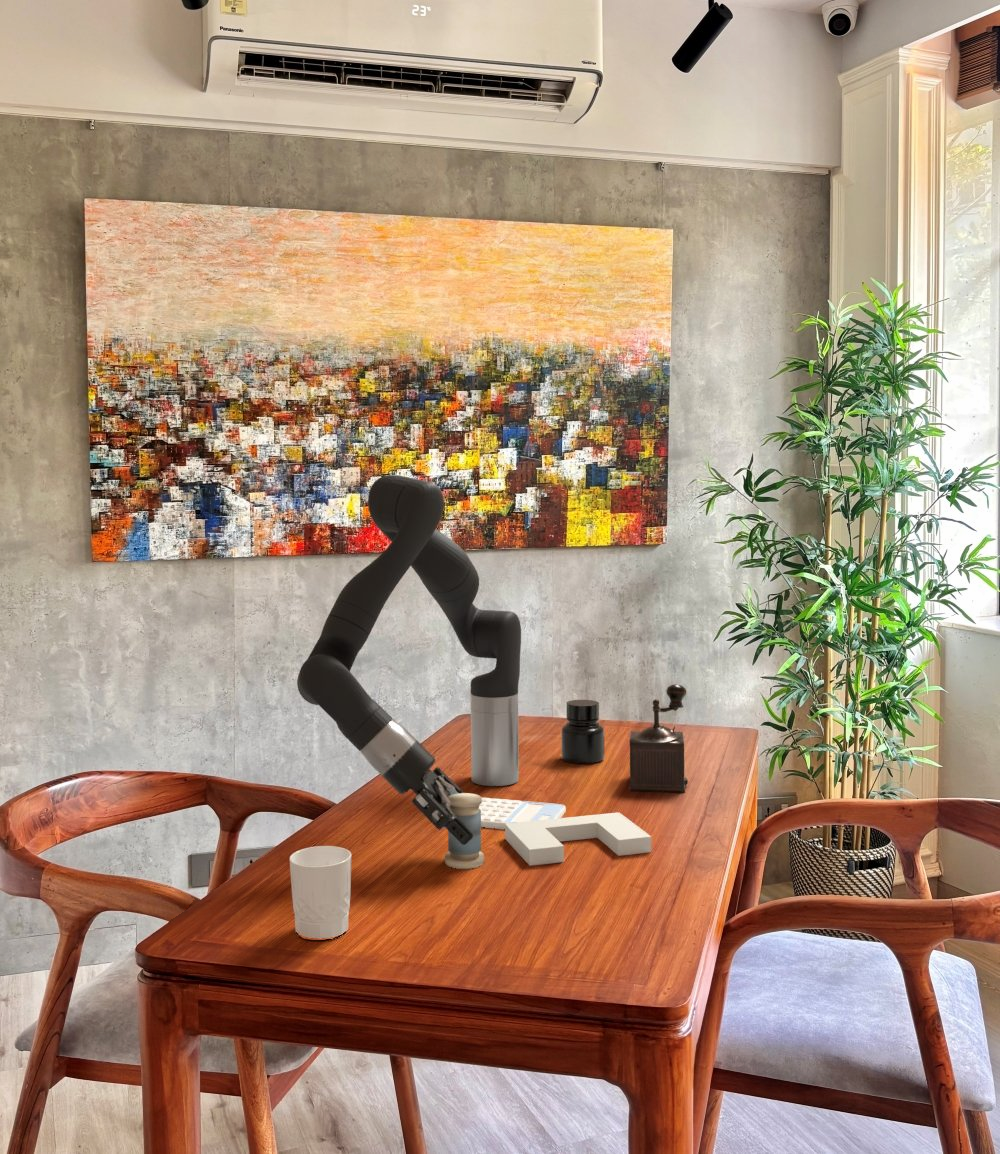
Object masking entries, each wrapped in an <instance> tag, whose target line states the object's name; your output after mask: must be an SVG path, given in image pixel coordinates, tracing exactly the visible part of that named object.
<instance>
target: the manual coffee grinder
mask: <svg viewBox="0 0 1000 1154" xmlns="http://www.w3.org/2000/svg"><path fill="white" fill-rule="evenodd" d="M665 691H666V692H665V693H666V695H667V696H668V698H669V700H670V702H669V705H668V707H660V700H659V699H653V701H652V705H653V706H652V712H653V725H652V726H648V727H647V728H645V729H643V730H641V731H640V730H639V731H638V730H637V731H636V730H634V731H632V730H631V731H630V733H629V734H630V735H629V791H630V792H638V793H639V792H640V793H641V792H642V793H671V794H673V793H675V794H676V793H677V794H680V793H681V794H682V793H683V794H685V793H686V787H687V786H688V783H689V782H688V780H689V779H688V778H686V777H685V775H686V774H685V773H686V772H685V771H686V770H685V765H686V764H685V736H684V734H683V731H675V729H676V726H673V728H669V727H667V726H665V725H660V717H659V716H660V713H667V712H670V711H674V712H677V710H679V709H682V708H684V705H683V702H682V701H683V700H684V698H685V697H686V695H687V689H686V688H685V687H684V686H683V685H681V684H671V685H669V686H668V687H667V688H666V690H665Z"/></svg>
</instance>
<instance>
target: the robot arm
mask: <svg viewBox="0 0 1000 1154" xmlns="http://www.w3.org/2000/svg"><path fill="white" fill-rule="evenodd" d="M367 497H368V498H367V506H368V511H369V515H370V517H371V519H372V522H373V523H374V524H375V526H376V527H377V528H378V529H379V530H380V532H382V533H383V535H384V536H386V538H388V540H390V542H391V543H389V545H388V546H387V548H386V549H384V551H383V552H381V554H380V555H379V556H377V557H376V558H375V559H374V560H373V561H371V563H369V564H368V565H367V566H366V567H364V568H363V569H362V570H360V571H359V572H357V574H355V575H354V576H353V577H352V578H351V579H350V580H349V581H348V583H345V586H344V587H343V588H342V589H341V591H340V592H339V594H338V596H337V598H336V600H335V602H334V604H333V605H332V608H331V610H330V612H329V613H328V616H327V618H326V620H325V623H324V625H323V627H322V629H321V634H320V636H319V638H318V640H317V641H316V643H315V645H314V647H313V648H312V650H311V652H310V654H309V655H308V657H307V659H306V660H305V661H304V662H303V664H302V665H301V667H300V669H299V673H298V676H297V680H296V681H297V683H296V684H297V685H296V686H297V690H298V693H299V695H300V696H301V697H302V699H303V700H305V701H306V702H307V703H309V704H311V705H314V706H319V707H320V708H321V709H322V710H323V711H324V712H325V713H326V714H327V715H328V716H329V717H330V718H331V719H332V720H333V722H335V724H336V725H337V729H338V730H339V731H340V732H341V734H342V735H343V736H344V737H345V738H346V740H347V741H349V742H350V743H351V744H352V745H353V746H354V747H355V749H357V751H359V752H360V753H361V754H362V756H364V758H365V759H366V761H367V762H368V763H369V764H370V766H371V767H372V768H373V769H374V770H375V771H376V772H378V773H379V775H380V776H381V777H382V778H384V780H386V782H387V783H388V784H389V785H391V787H392V788H393V789H394V790H395V791H397V793H398V794H400V795H405V794H406V793H408V791H409V790H412V791H413V794H415V795H416V796H415V797H414V798H412V799H411V803H412V804H413V805H414V806H415V807H416V808H417V809H418V810H419V811H420V812H421V814H422V815H424V817H426V819H428V820H429V822H430V823H431V824H433V826H434V827H435V828H436V829H437V830H441V829H444V830H447V832H448V831H449V832H450V833H451V834H452V835H453V836H454V837H455V838H456V839H457V840H458V841H459V842H460V843H461V844H463V845H465V844H467V843H468V842H469V841H470V840H471V839H472V838H473V832H472V831H471V830H470V829H469V828H468V827H467V826H466V825H465V824H464V823H463V822H462V821H461V820H460V819H459V818H458V817H456V815H455V814H454V812H453V811H452V809H451V802H450V800H449V799H448V797H449V796H451V795H454V794H459V793H464V791H463V790H462V788H460V787H459V786H458V785H457V784H456V783H455V782H454V781H453V780H452V779H451V778H450V776H448V775H447V774H446V773H445V772H444V771H443V770H442V769H441V768H440V767H438V766H436V767H435V768H434V769H433V770H431V768H432V767H433V766H434V764H435V762H436V758H435V757H434V755H433V754H432V753H430V752H429V751H428V750H427V749H426V747H424V745H422V743H420V742H419V741H418V739H417V738H415V736H413V735H412V734H411V732H409V731H408V730H407V729H406V728H405V727H404V726H403V725H401V724H400V723H399V722H398V721H396V719H394V718H393V717H392V716H391V715H390V714H389V713H388V712H387V710H385V709H384V708H383V707H382V706H381V705H380V704H379V703H378V702H376V700H374V699H373V698H372V697H371V696H370V695H369V694H368V692H367V691H366V690H365V689H364V687H363V686H362V685H361V683H360V682H359V681H358V680H357V678H356V677H355V676H354V675H353V673H351V670H352V667H353V666H354V663H355V660H356V658H357V656H358V654H359V652H360V651H361V649H362V648H363V647H364V645H365V643H366V642H367V640H368V639H369V636H370V634H371V632H372V630H373V628H374V626H375V625H376V622H377V620H378V618H379V616H380V614H381V613H382V610H383V608H384V607H385V605H386V602H387V601H388V599H389V598H390V596H391V594H392V593H393V591H394V590H395V588H396V587H397V585H398V584H399V583H400V581H401V580H402V579H403V577H404V576H405V574H406V573H407V571H408V570H409V569H410V567H411V568H412V569H413V570H414V572H415V573H416V574H417V576H418V577H419V579H420V580H421V582H422V584H423V585H424V587H425V588H426V590H427V591H428V592H429V594H430V596H432V597H433V599H434V600H435V602H436V603H437V604H438V606H439V607H440V609H441V610H442V611H443V613H444V615H445V617H446V618H447V620H448V622H449V623H450V625H451V626H452V628H453V630H454V633H455V634H456V636H457V639H458V641H459V643H460V644H461V646H462V647H463V649H464V650H465V652H466V653H467V654H468V655H469V656H471V657H475V658H482V659H493V660H494V659H495V661H496V663H495V666H494V667H495V668H494V669H492V670H491V671H490V672H487V673H483V674H480V675H477V676H474V677H472V679H471V681H470V737H471V738H470V746H471V747H470V749H471V750H470V752H471V753H470V755H471V757H470V763H471V764H470V765H471V767H470V769H471V770H470V771H471V772H470V773H471V778H470V779H471V782H472V783H474V784H476V785H480V786H483V787H484V786H485V787H503V786H509V785H513V784H516V783H518V781H519V779H520V778H519V776H520V774H519V773H520V770H519V764H520V763H519V760H520V759H519V758H520V757H519V756H520V755H519V744H520V743H519V741H520V740H519V682H520V675H521V674H520V673H521V650H522V649H521V646H522V645H521V644H522V627H521V621H520V619H519V616H518V615H517V613H516V612H514V611H507V610H495V609H494V610H492V609H491V610H490V609H486V610H485V609H479V608H478V607H476V606H475V605H474V601H475V599H476V597H477V594H478V592H479V586H480V577H479V574H478V573H479V572H478V571H477V569H476V567H475V565H474V564H473V562H472V560H471V559H470V558H469V556H468V554H467V552H465V550H464V549H462V547H461V546H460V545H459V544H457V543H456V542H455V541H454V540H452V539H451V538H450V537H449V536H447V535H445V534H444V533H442V532H441V531H440V530H438V529H437V527H438V526H439V524H440V521H441V520H442V516H443V513H444V507H445V500H444V494H443V491H442V490H441V488H440V487H439V486H438V485H437V484H435V483H433V482H430V481H427V480H422V479H418V478H413V477H408V476H404V475H397V474H396V475H395V474H393V475H392V474H391V475H390V474H389V475H383V476H381V477H379V478H378V479H376V480H374V482H373V483H372V484H371V486H370V488H369V492H368V495H367ZM442 815H443V816H442Z"/></svg>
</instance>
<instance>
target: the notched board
mask: <svg viewBox="0 0 1000 1154" xmlns="http://www.w3.org/2000/svg"><path fill="white" fill-rule="evenodd" d="M595 838H596V839H599V841H601V842H602V843H603V844H604V845H606V847H608V848H609V849H610V850H611V851H612V852H614V853H615V854H616V855H617V856H618V857H620V856H630V855H636V854H647V853H652V836H651V835H650V834H649V833H647V832H646V831H645V830H643V829H642V828H641V827H639V826H638V825H637V824H636V823H634V822H633V821H631V820H630V819H629V818H628V817H626V816H625V815H623V814H622V813H620V811H619V812H611V813H610V812H609V813H600V814H589V815H579V816H569V817H561V818H558V819H548V820H537V821H527V822H517V823H507V824H505V830H504V840H506V842H507V843H508V844H509V845H510V846H511V847H512V848H513V849H514V851H516V853H517V854H518V855H519V856H520V857H521V858H522V859H523V860H524V861H525V862H526V863H527V865H528V866H531V867H532V866H539V865H548V864H556V863H557V864H558V863H559V864H560V863H564V862H565V846H564V845H563V843H562V842H568V841H576V840H577V841H578V840H585V839H595Z"/></svg>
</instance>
